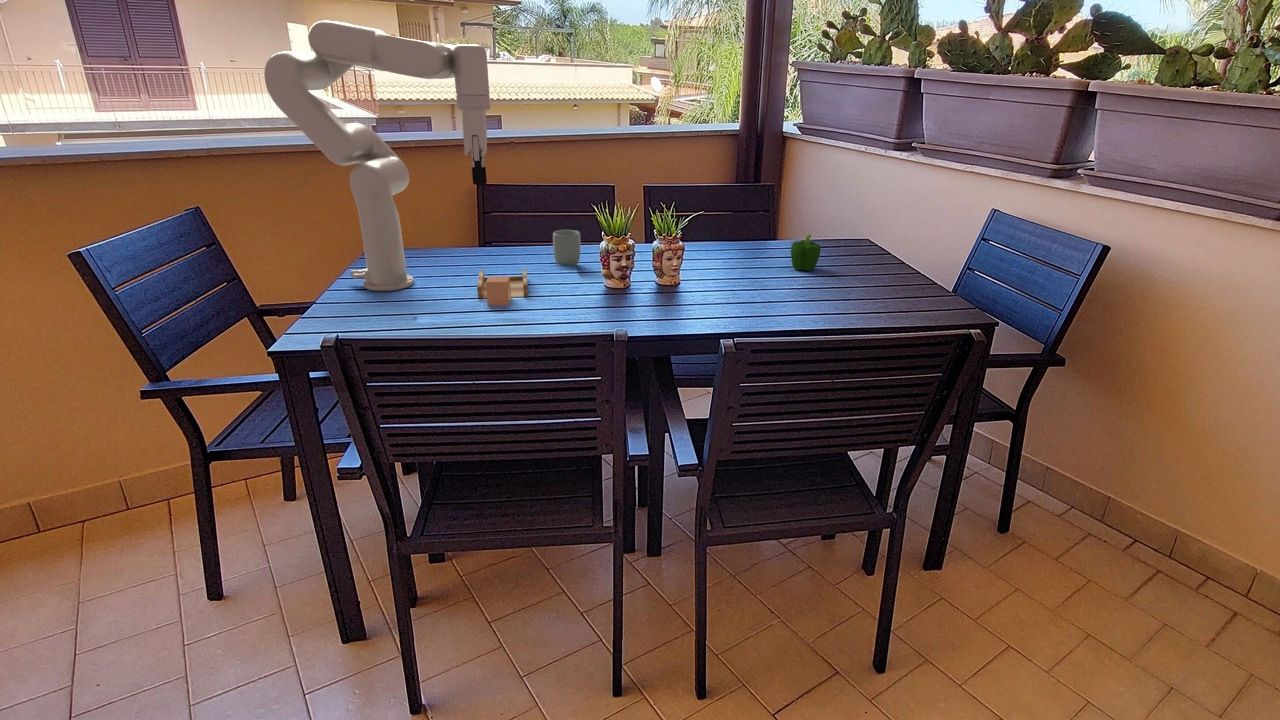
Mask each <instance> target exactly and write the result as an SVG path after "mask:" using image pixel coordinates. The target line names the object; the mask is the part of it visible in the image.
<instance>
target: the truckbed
mask: <svg viewBox="0 0 1280 720" xmlns="http://www.w3.org/2000/svg"><path fill="white" fill-rule="evenodd" d="M527 274H528V273H527V268H522V275H509V276H510V286H511V298H526V297H529V294H528V292H529V291H528V290H529V288H528V287H529V286H528V275H527ZM488 277H489V276H485V272H484V270H483V269H482V270H481V269H480V270H479V274H478V279H477V284H476V285H477V286H476V288H477V299H487V294H486V280H487V279H488Z"/></svg>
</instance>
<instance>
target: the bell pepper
mask: <svg viewBox="0 0 1280 720" xmlns="http://www.w3.org/2000/svg"><path fill="white" fill-rule="evenodd" d="M811 238H812V235H811V234H809V233H808V234H807V235H806V237H805V240H803V239H802V240H800V241H794V242H792V244H791V247H790V257H791V264H792V267H793V269H794V270H797V271H805V272H810V271H811V272H812V271H814V270H815V268H816V266H817V264H818V261H819V259H820V256H821V246H820V244H819V243H816V242H815V241H813V240H812V241H811V240H810V239H811Z"/></svg>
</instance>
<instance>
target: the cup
mask: <svg viewBox="0 0 1280 720" xmlns="http://www.w3.org/2000/svg"><path fill="white" fill-rule="evenodd" d="M552 248H553V257H554V261H555V263H556V264H558V265H564V266H565V265H566V266H568V265H570V266H571V265H575V267H577V265H578V264H579V263H580V258H581V232H580V231H579V230H574V229H559V230H554V231H553V233H552Z"/></svg>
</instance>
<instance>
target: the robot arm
mask: <svg viewBox="0 0 1280 720" xmlns="http://www.w3.org/2000/svg"><path fill="white" fill-rule="evenodd" d="M307 34H308V35H307V39H308V44H309V46H310V48H311V51H296V50H295V51H292V50H291V51H289V50H288V51H286V50H285V51H281V52H277V53H275V54H273V55H272V56H270V57H269V58H268V60H267V61H266V64H265V66H264V81H265V86H266V90H267V92H268V94H269V96H270V98H271V100H272V101H273V102H274V104H275V105H276V106H277V107H278V108H279V109H280V111H281V112H282V113H283V114H285V116H286V117H287V118H288V119H289V120H290V121H292V122H293V123H294V124H295V126H297V127H298V128H299V130H301V132H303V134H304V135H305V136H306V137H307V138H308V139H309V140H310V141H311V142H312V143H313V145H315V146H316V147H317V149H318V150H320V151H321V153H322V154H323V155H325V156H326V158H327V159H328V160H329V161H330V162H332V163H333V164H335V165H337V166H343V167H345V166H350V165H355V164H357V165H355V166H354V168H353V169H352V170H351V173H350V175H349V187H350V190H351V195H352V197H353V199H354V203H355V204H356V209H357V214H358V221H359V226H360V230H361V231H360V232H361V238H362V245H363V250H364V257H365V263H366V268H362V269H351V270H350V277H351V278H353V279H354V280H359V279H363V281H362V285H363V288H364V289H366V290H370V291H375V292H390V291H392V292H393V291H397V290H398V291H399V290H402V289H406V288H408V287H410V286H412V285H413V284H414V283H415V281H414V277H413V276H412V275H410V274H408V273H407V265H406V264H407V263H406V259H405V258H406V257H405V251H404V243H403V235H402V227H401V221H400V220H401V219H400V215H399V212H398V211H399V210H398V208H397V205H396V203H395V200H394V198H393V196H395V195H398V194H400V193H402V192H403V191H404V190H406V188H407V187H408V185H409V183H410V173H409V170H408V168H407V166H406V164H405V163H404V161H403V160H402V159H401V158H400V157H399V156H398V155H397V153H395V151H393V149H392V148H390V146H389V145H388V144H387V143H386V142H385V141H384V140H383V139H382V138H381V137H380V135H378V134H377V133H376V131H374V130H373V129H372V128H370V127H369V126H367V125H365V124H362V123H358V122H351V123H350V122H348V123H345V122H344V121H343V120H341V119H340V118H339V117H338V116H337V115H336V114H335V113H334V112H333V111H332V110H331V108H329V106H328V105H327V104H325V102H323V101H321V100H320V99H319V98H317V97H316V96H314V95H313V94H312V93H311V92H310V91H320V90H324V89H327V88H328V87H330V86H331V85H333V84H334V83H336V82H337V81H338V80H339V79H340V78H342V76H344V75H345V74H346V73H347V72H349V70H350V69H352V68H353V67H354V66H355V67H356V66H357V67H361V68H365V69H371V70H375V71H380V72H388V73H390V74H391V73H393V74H398V75H402V76H408V77H413V78H419V79H425V80H446V79H453V78H454V86H455V95H456V96H455V97H456V98H455V99H456V106H457V108H456V109H457V110H458V111H461V115H462V116H461V117H462V118H461V120H462V134H463V136H462V137H463V147H464V148H463V151H464V152H463V153H464V154H465V156H469V153H470V152H471V153H470V154H471V156H470V157H471V165H472V166H471V173H472V176H471V177H472V184H473V185H477V186H478V185H479V186H480V185H486V184H487V169H486V165H485V155H486V153H487V149H488V146H487V145H488V134H487V133H488V131H487V130H488V129H487V115H486V111H491V97H490V95H491V94H490V84H489V83H490V81H489V71H488V69H489V68H488V67H489V66H488V55H487V50H486V48H485V46H484V45H481V44H476V43H475V44H472V43H466V44H465V43H459V44H455V45H454V44H448V43H444V42H443V43H442V42H434V41H423V40H417V39H412V38H406V37H400V36H395V35H390V34H388V33H385V31H383V30H381V29H378V28H373V27H372V28H371V27H366V26H360V25H354V24H350V23H348V22H342V21H341V22H340V21H332V20H321V21H317V22H315V23H314V24H312V25H311V27H310V28H309V31H308V33H307Z"/></svg>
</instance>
